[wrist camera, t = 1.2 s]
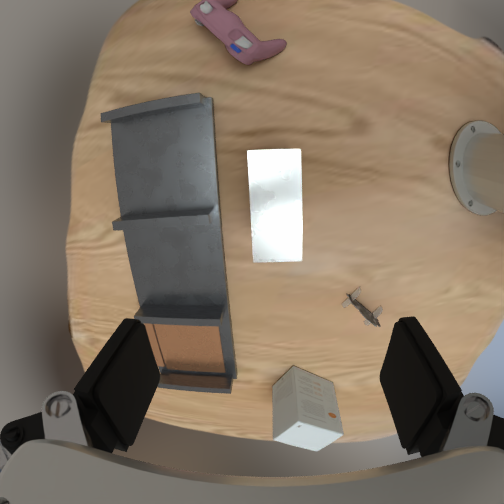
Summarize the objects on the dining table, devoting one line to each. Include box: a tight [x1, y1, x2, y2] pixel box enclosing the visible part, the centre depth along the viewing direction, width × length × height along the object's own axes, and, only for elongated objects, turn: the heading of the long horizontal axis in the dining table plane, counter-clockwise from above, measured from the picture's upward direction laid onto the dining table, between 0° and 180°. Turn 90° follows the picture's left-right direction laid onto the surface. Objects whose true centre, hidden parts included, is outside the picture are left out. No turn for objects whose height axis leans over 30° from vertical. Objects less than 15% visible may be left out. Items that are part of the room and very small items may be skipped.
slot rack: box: [101, 93, 237, 394], centre depth 32 cm, size 12×37×4 cm, turn 3°
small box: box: [272, 366, 344, 451], centre depth 35 cm, size 8×6×10 cm
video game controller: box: [190, 0, 287, 65], centre depth 22 cm, size 10×5×7 cm, turn 38°
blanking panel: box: [247, 148, 302, 262], centre depth 26 cm, size 4×9×9 cm, turn 3°
